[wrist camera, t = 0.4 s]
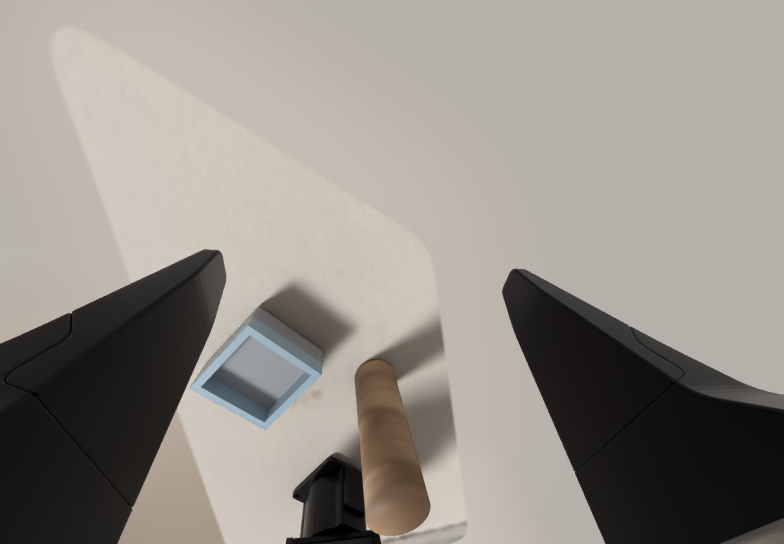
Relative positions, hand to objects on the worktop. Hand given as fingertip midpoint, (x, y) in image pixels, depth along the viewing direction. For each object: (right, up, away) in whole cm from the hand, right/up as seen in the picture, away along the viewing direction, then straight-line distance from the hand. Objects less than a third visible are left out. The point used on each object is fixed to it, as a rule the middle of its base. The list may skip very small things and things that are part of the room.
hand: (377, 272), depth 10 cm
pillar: (-1, -11, +21) cm, 24 cm away
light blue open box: (-11, -8, +18) cm, 23 cm away
